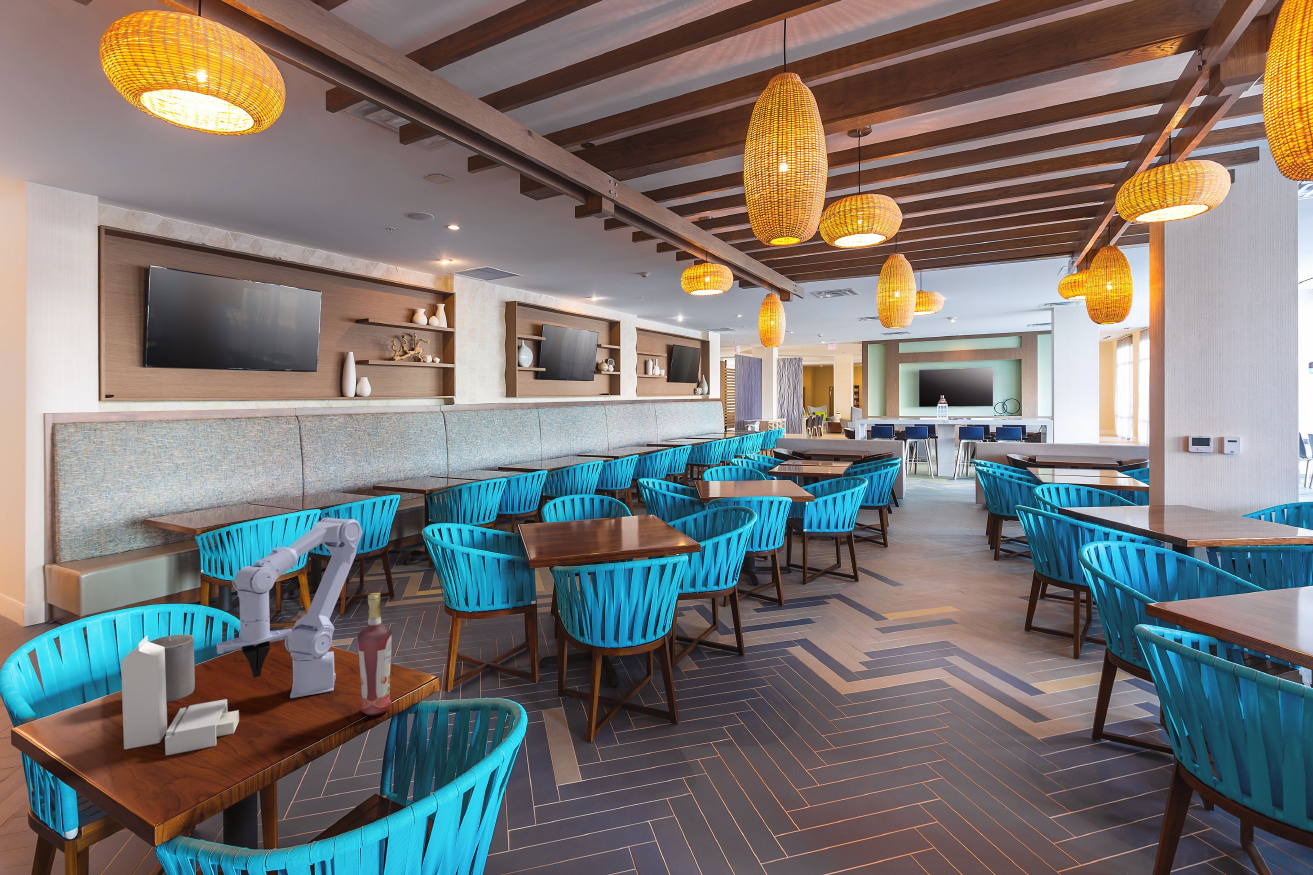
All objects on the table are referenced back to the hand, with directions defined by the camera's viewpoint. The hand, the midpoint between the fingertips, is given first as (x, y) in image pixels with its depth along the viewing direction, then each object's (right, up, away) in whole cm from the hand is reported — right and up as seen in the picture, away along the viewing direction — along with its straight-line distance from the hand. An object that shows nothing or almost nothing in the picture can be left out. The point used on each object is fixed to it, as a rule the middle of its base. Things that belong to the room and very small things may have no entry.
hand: (256, 675), depth 142 cm
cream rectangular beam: (-6, -10, -7) cm, 13 cm away
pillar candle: (-29, -9, +11) cm, 32 cm away
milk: (-17, -10, -10) cm, 22 cm away
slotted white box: (-7, -10, -8) cm, 15 cm away
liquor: (+27, -10, +2) cm, 29 cm away
